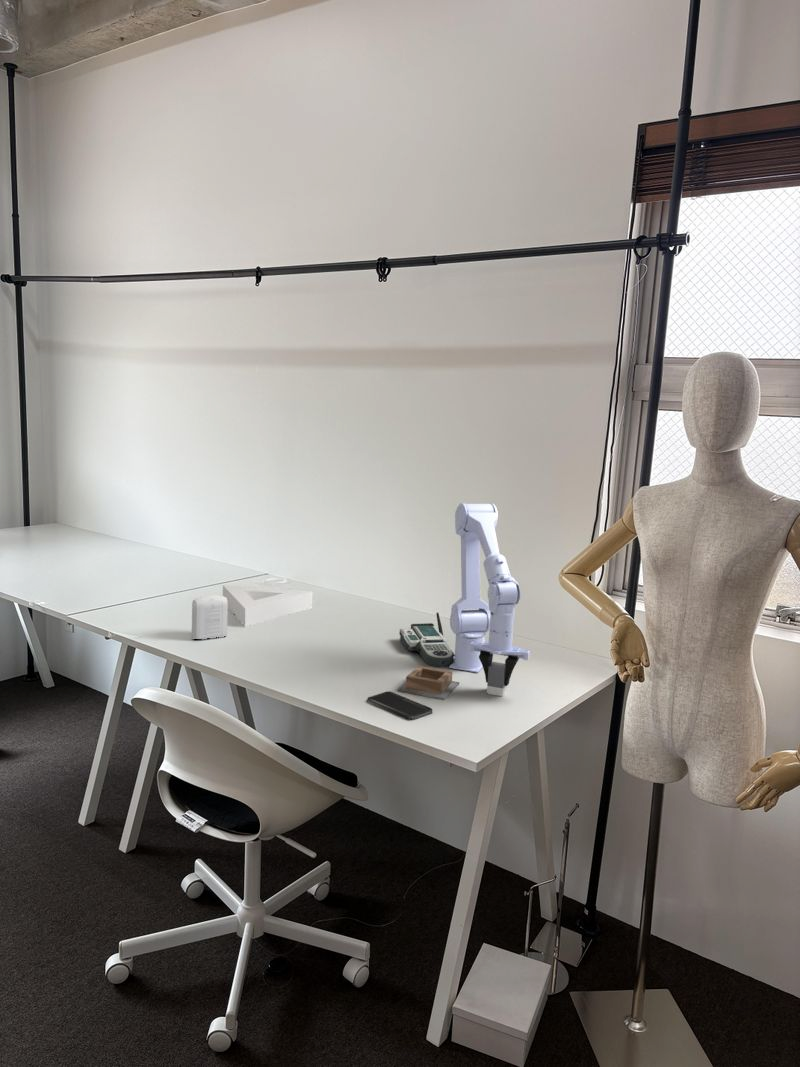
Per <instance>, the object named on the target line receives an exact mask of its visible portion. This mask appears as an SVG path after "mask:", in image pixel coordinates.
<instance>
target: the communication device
mask: <svg viewBox="0 0 800 1067" xmlns="http://www.w3.org/2000/svg"><path fill="white" fill-rule="evenodd" d="M435 615H436V620H437V628H436V626H435V624H434V623H431V622H429V623H426V622H425V623H411V624H410V628H400V629H399V642H401V644H402V646H403V647H404V649H405V650H406V649H407V651H410V652H416V651H417V653H419V654H420V655H421V658H422V659H423V661H424V662H425V663H426V664H427V665H429V666H432V667H439V668H445V667H449V666H450V665H451V664H452V663H453V662H454V659H455V652H454V651H453V650H452V649H451V648H450V646H449V645H448V643H447V641H448V640H447V639H446V638H445V636H444V632H443V626H442V621H441V618H440V614H439V612H436V614H435Z"/></svg>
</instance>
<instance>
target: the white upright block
mask: <svg viewBox="0 0 800 1067" xmlns="http://www.w3.org/2000/svg"><path fill="white" fill-rule="evenodd" d="M228 610H229V609H228V602H227V598H226V597H224V596H223V595H220V594H206V595H202V596H198V597H197V598H194V599H193V600H192V602H191V639H192V638H194V639H202V640H208V639H207V638H210V639H217V638H218V637H219V638H225V637H224V636H226V637H227V636H228V614H229V613H228ZM216 637H217V638H216Z"/></svg>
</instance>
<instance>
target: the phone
mask: <svg viewBox="0 0 800 1067" xmlns="http://www.w3.org/2000/svg"><path fill="white" fill-rule="evenodd" d="M367 701H368V702H369V704H370V703H371V704H370V705H373V706H376V707H378V708H380V709H383V710H385V711H387V712H389V713H392V714H393V715H395V716H398V717H400V718H403V719H406V720H407V721H415V720H417V719H420V718H423V717H427V716H429V715H432V714H433V708H432V707H429V706H427V705H424V704H422V703H420V702H417V701H415V700H413V699H410V698H408V697H406V696H403V695H400V694H398V693H395V692H393V691H388V690H387V691H384V692H379V693H378V694H373V695H371V696H368V697H367V700H366V702H367ZM368 702H367V703H368Z"/></svg>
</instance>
